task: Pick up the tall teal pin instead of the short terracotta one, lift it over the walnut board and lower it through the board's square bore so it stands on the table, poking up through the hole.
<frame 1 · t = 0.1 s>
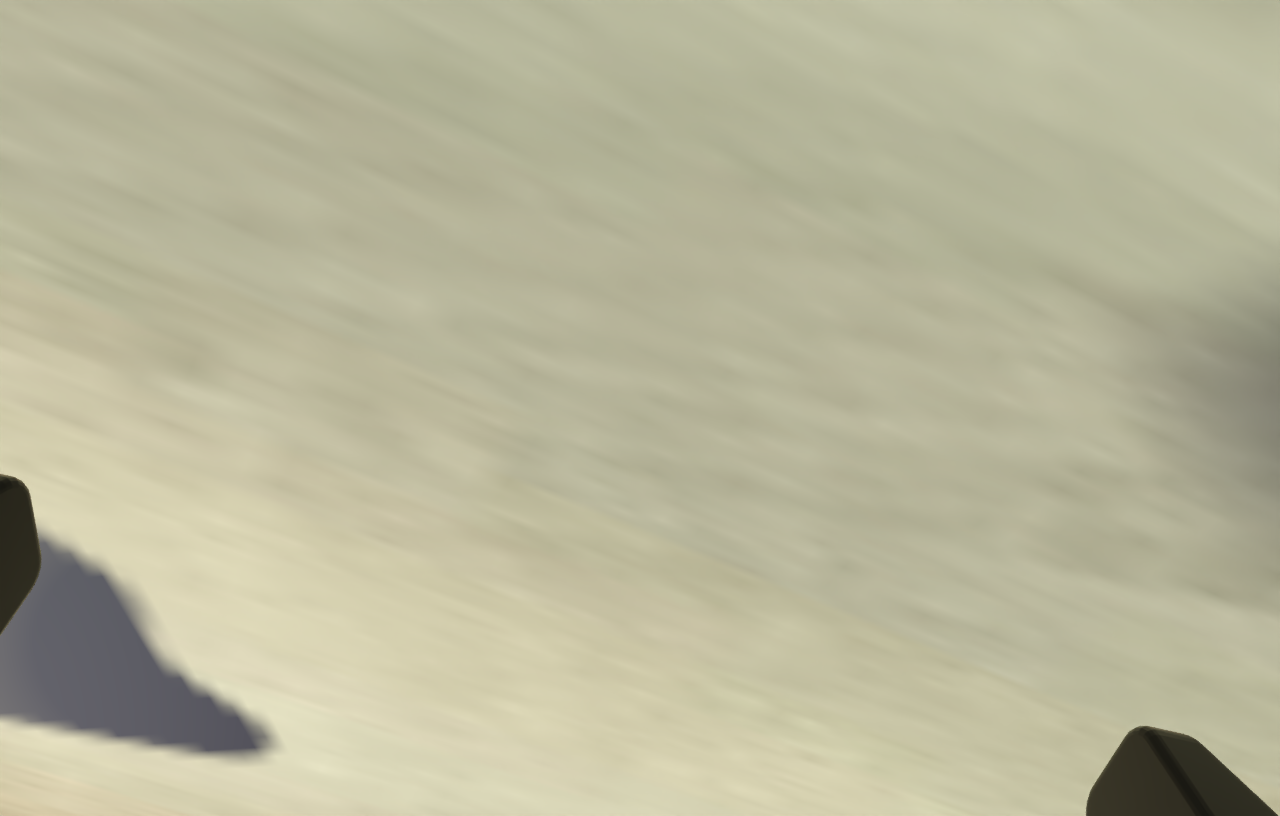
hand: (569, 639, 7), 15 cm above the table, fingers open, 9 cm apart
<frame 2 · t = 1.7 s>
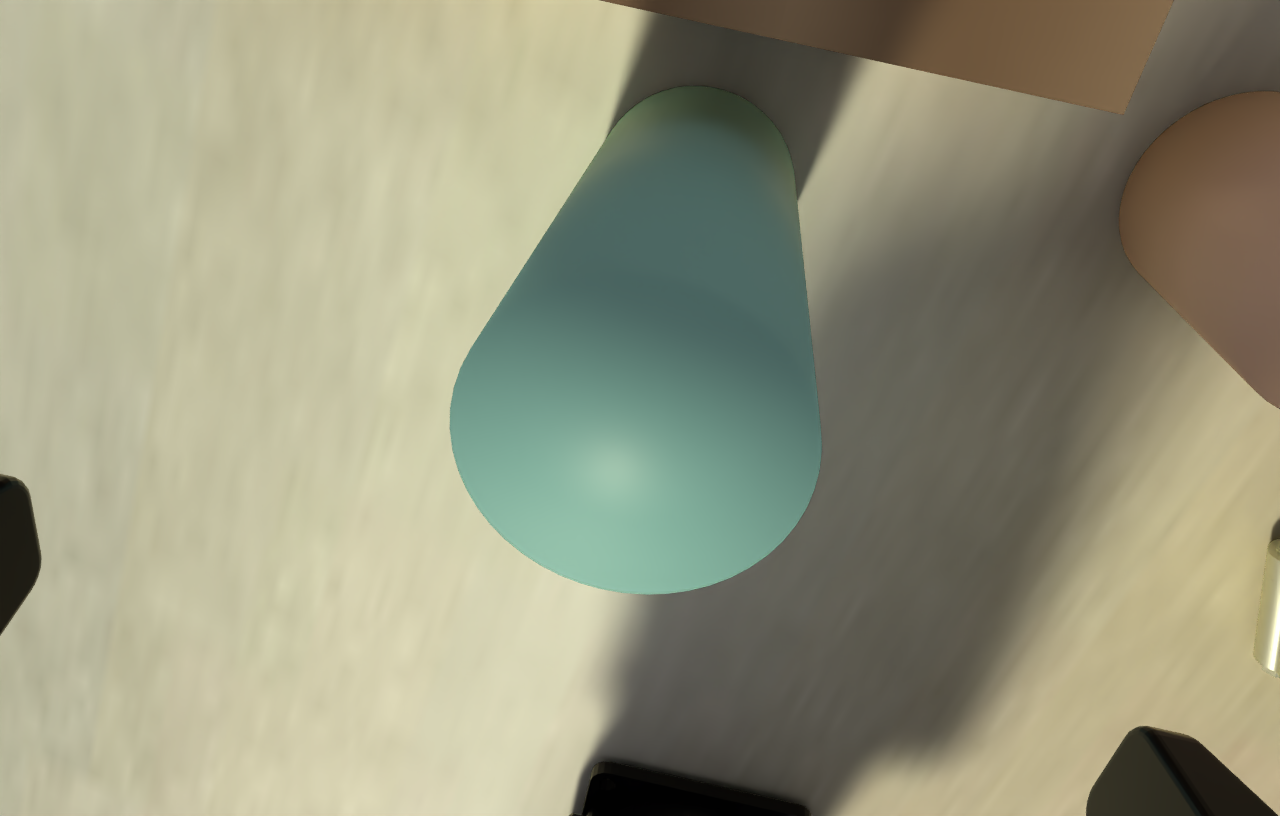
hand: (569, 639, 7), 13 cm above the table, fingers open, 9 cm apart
short pin: (1232, 200, 18), on the table
tall pin: (694, 189, 19), on the table
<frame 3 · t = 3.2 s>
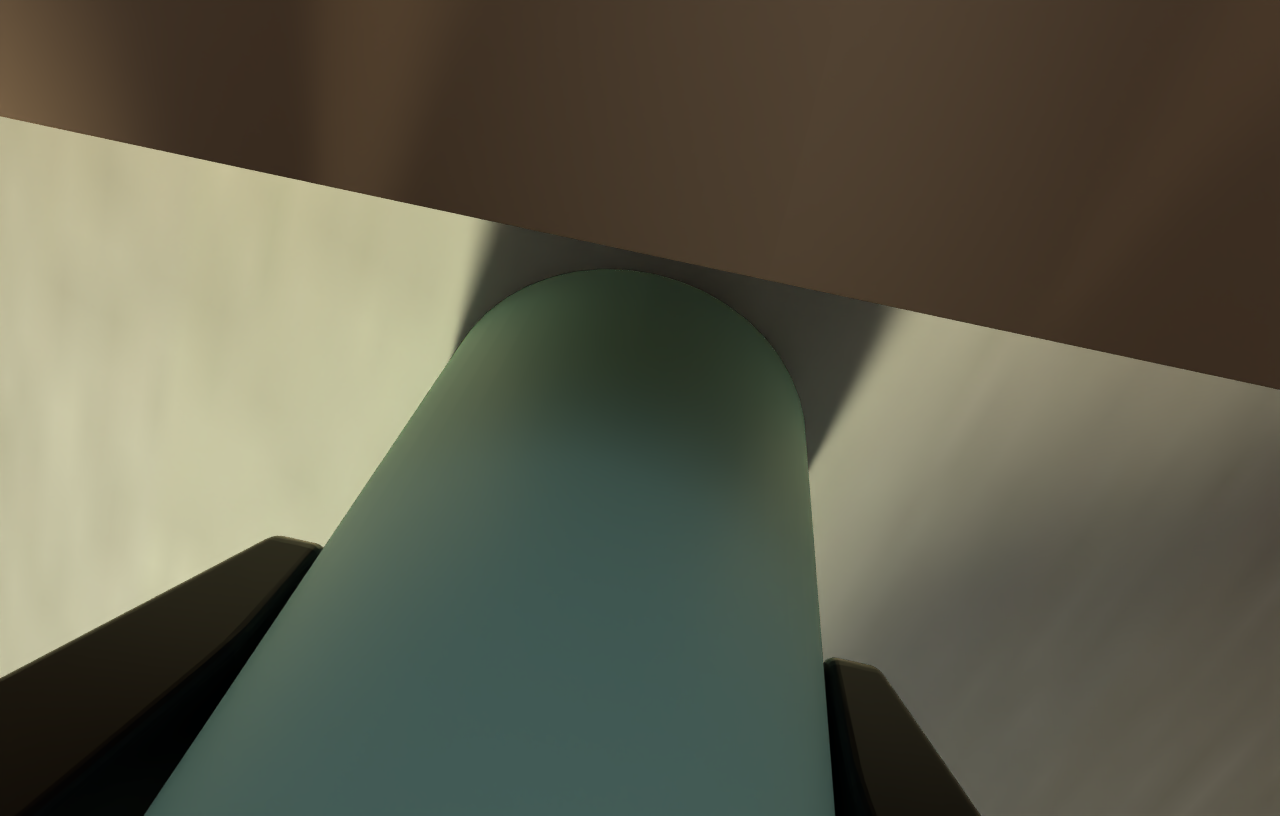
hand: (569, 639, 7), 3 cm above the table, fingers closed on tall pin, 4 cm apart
tall pin: (619, 443, 10), on the table, touching gripper
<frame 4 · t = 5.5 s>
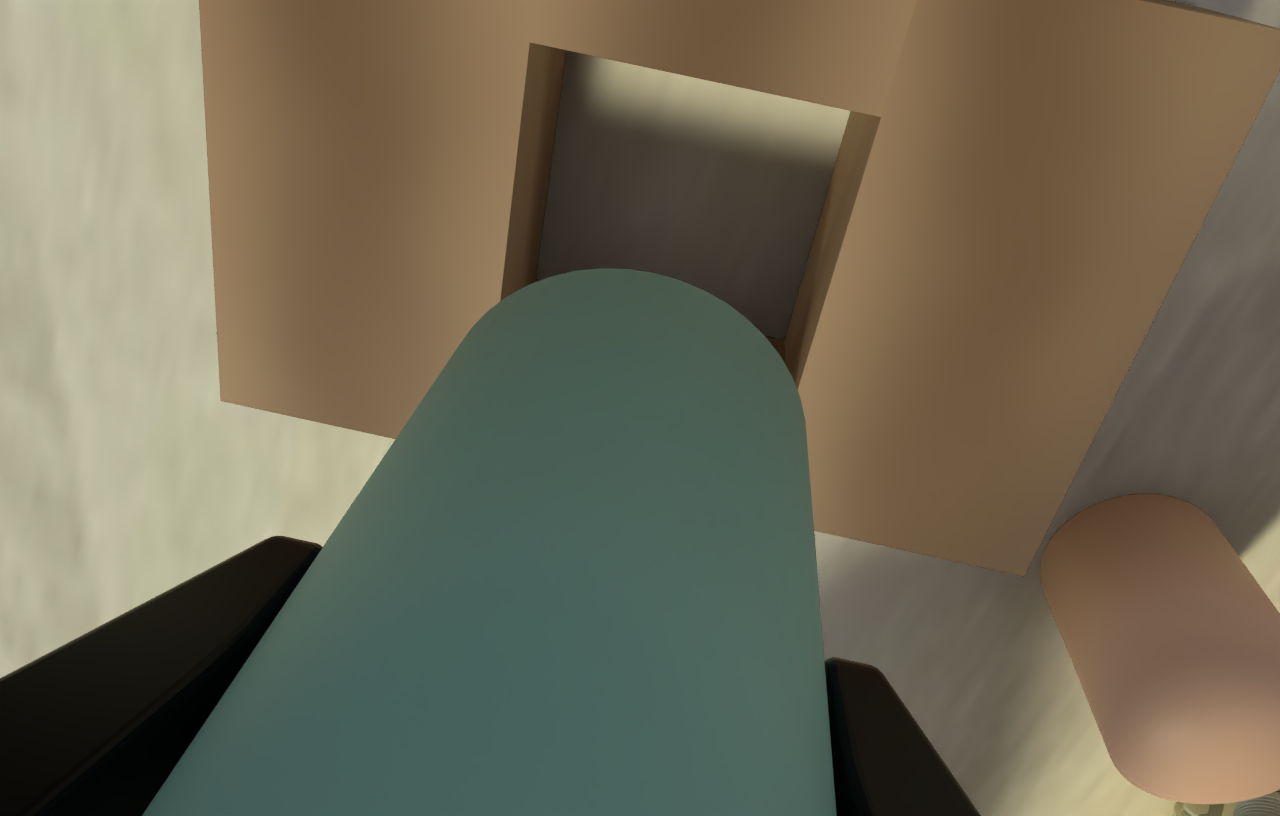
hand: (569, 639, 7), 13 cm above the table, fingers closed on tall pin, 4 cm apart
short pin: (1130, 564, 22), on the table
bore board: (685, 189, 19), on the table
tall pin: (619, 442, 10), point 10 cm above the table, touching gripper
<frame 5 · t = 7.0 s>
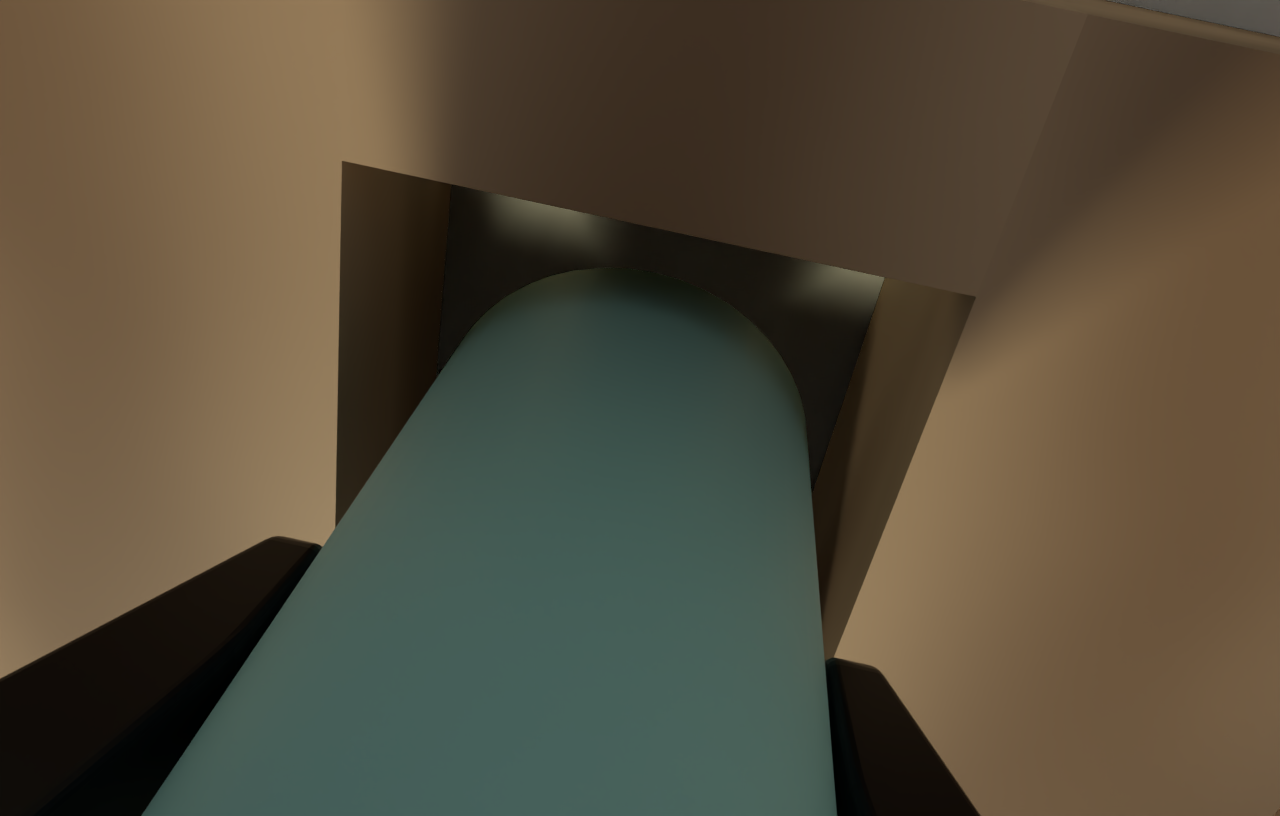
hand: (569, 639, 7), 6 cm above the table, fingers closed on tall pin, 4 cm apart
bore board: (645, 341, 12), on the table
tall pin: (619, 442, 10), point 3 cm above the table, touching gripper
when the fingers open (5 cm above the table, at t = 7.9 s): tall pin drops 2 cm, resting in bore board.
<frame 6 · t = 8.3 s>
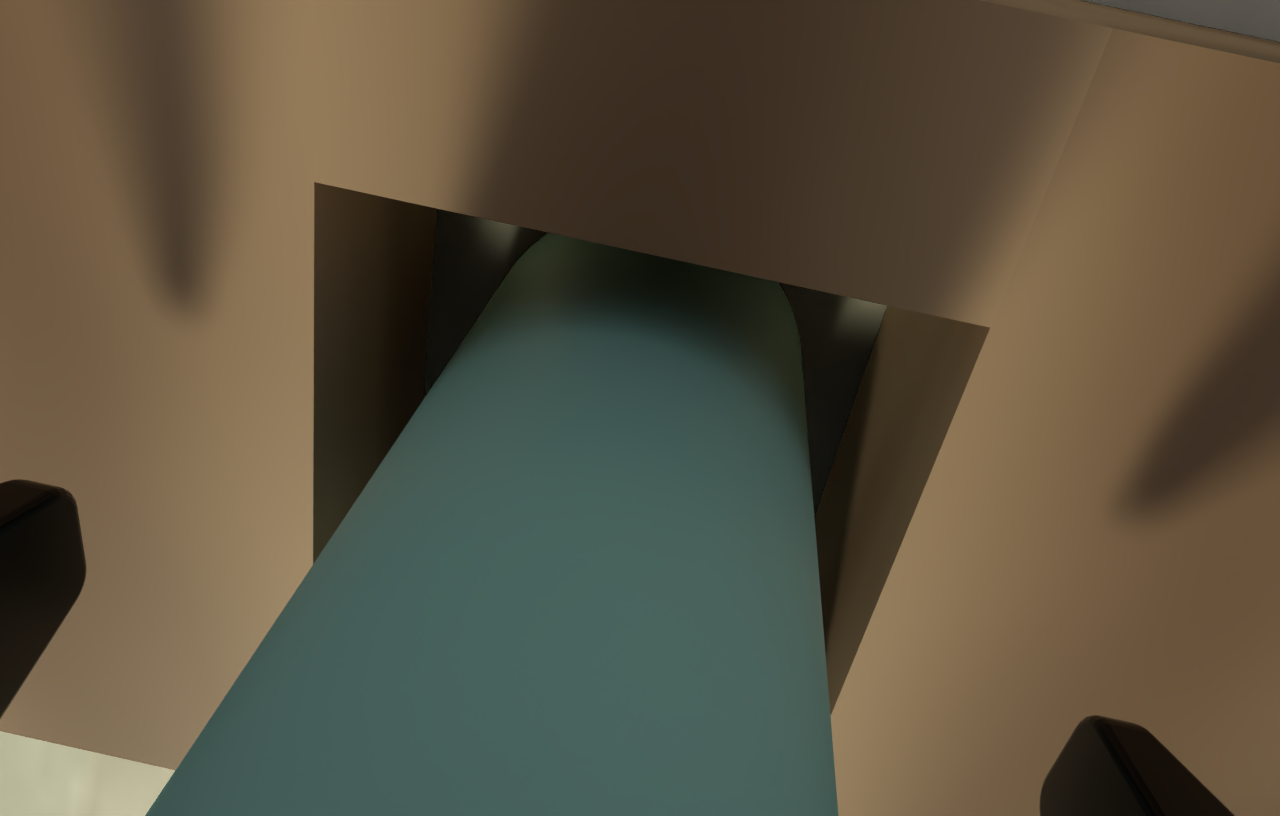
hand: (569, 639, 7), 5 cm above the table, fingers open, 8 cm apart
bore board: (640, 362, 12), on the table
tall pin: (641, 361, 12), resting in bore board
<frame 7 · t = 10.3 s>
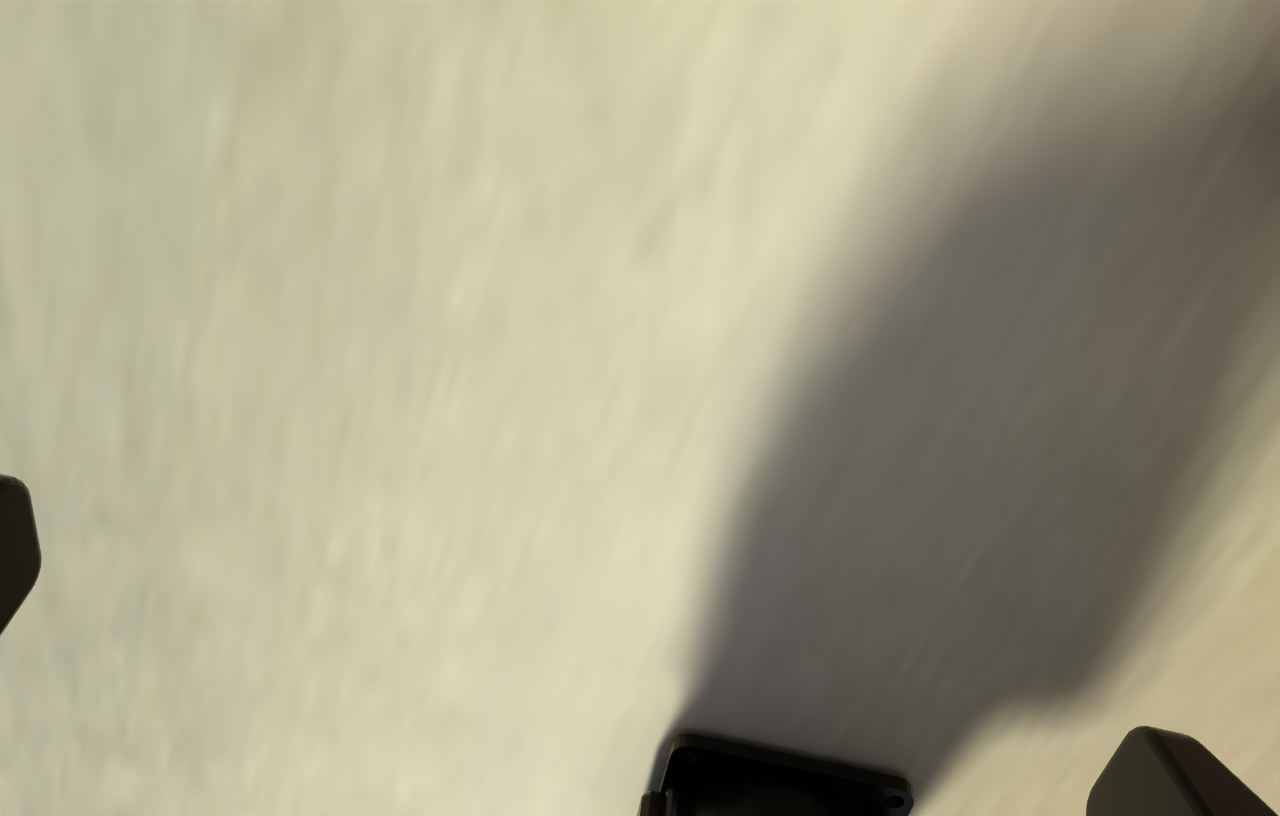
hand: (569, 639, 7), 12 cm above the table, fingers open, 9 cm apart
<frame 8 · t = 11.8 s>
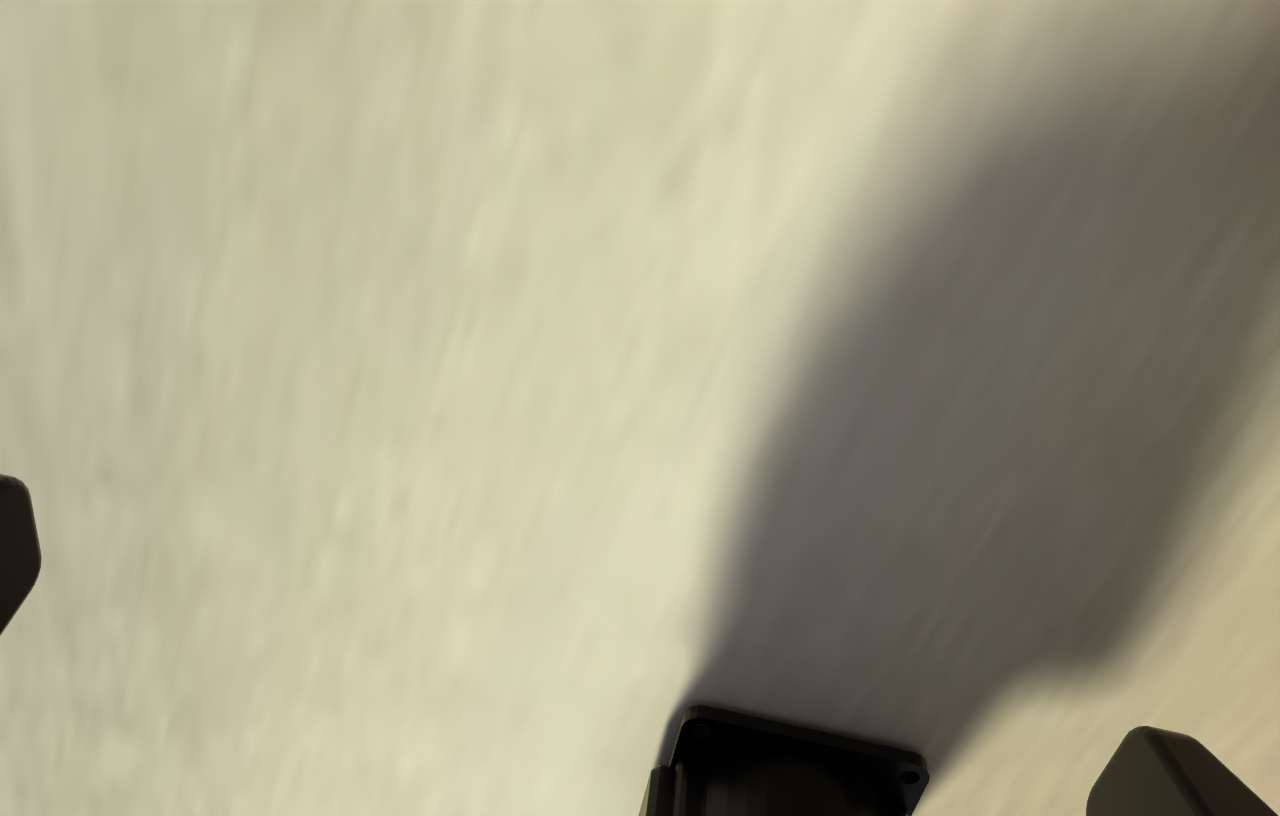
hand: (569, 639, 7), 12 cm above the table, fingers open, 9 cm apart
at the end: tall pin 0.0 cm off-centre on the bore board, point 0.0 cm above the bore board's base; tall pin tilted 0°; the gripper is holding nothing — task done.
